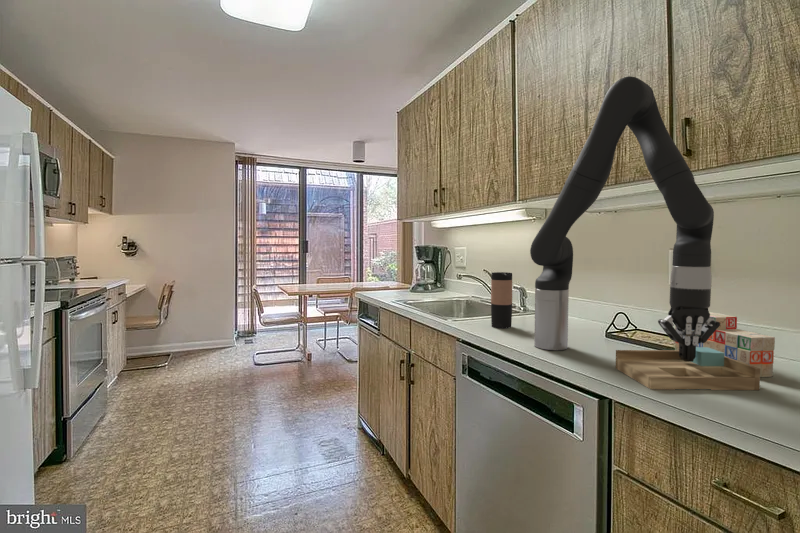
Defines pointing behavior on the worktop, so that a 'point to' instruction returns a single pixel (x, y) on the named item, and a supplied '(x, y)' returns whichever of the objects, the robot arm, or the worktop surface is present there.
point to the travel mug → (501, 300)
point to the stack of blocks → (741, 344)
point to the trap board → (685, 371)
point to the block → (708, 357)
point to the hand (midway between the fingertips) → (687, 360)
